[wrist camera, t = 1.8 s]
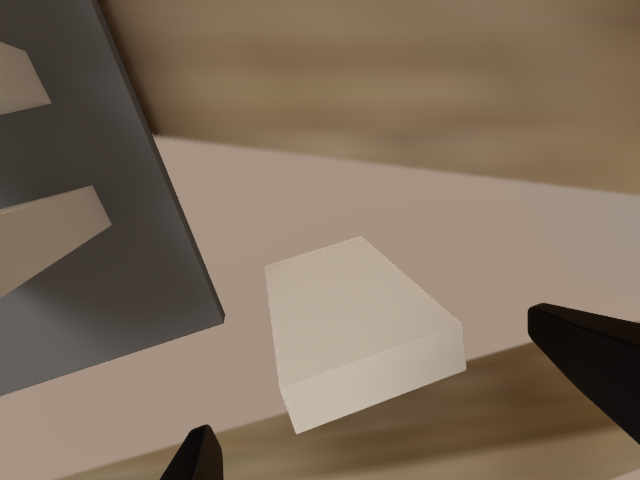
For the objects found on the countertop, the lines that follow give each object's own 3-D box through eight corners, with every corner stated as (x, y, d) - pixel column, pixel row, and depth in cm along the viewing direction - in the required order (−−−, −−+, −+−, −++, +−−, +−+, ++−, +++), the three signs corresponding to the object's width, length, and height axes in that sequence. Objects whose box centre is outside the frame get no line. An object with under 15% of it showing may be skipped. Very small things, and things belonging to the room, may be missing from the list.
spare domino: (263, 265, 15) (279, 388, 8) (361, 235, 16) (461, 323, 8) (273, 294, 16) (296, 434, 8) (367, 264, 16) (466, 369, 9)
